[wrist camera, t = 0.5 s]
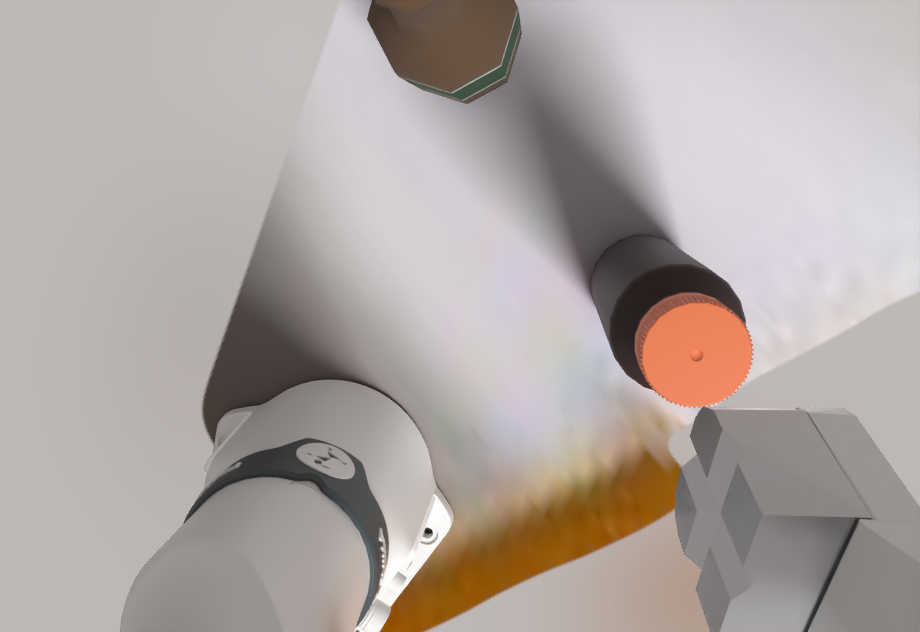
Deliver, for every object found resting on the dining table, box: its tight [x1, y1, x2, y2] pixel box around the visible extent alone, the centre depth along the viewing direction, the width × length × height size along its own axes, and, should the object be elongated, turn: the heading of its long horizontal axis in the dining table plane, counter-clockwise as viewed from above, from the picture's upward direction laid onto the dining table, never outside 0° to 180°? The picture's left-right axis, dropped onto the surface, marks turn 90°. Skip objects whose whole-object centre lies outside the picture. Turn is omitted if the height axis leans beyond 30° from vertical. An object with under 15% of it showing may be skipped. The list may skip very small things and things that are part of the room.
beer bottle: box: [367, 0, 522, 104], centre depth 41 cm, size 8×8×24 cm
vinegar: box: [591, 235, 754, 408], centre depth 45 cm, size 7×7×20 cm
